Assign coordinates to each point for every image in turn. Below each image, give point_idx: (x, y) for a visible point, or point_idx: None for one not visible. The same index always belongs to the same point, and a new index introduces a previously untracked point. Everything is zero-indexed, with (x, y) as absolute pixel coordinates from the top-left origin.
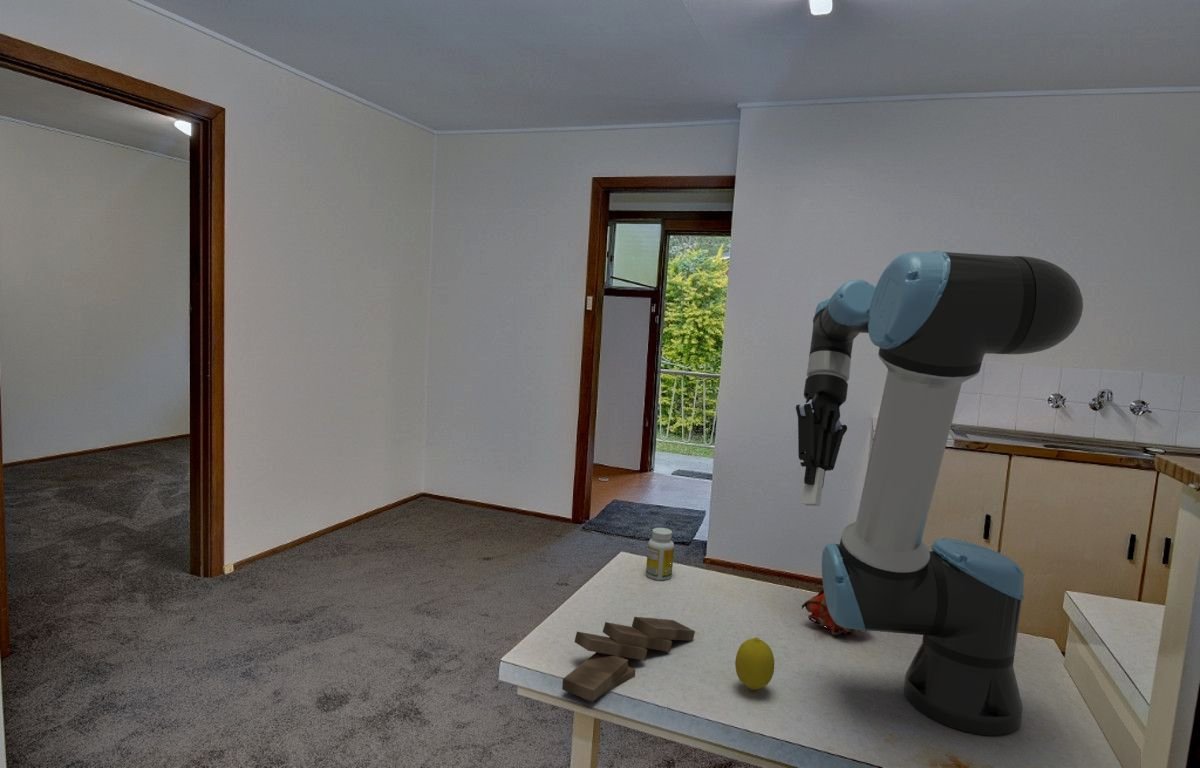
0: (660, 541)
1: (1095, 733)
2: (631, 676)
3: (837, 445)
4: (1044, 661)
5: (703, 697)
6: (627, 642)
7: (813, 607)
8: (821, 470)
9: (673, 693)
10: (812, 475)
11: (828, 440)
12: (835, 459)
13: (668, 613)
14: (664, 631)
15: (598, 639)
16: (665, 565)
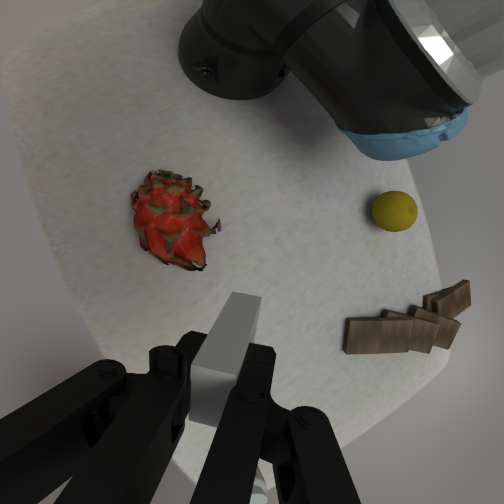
0: (260, 488)
1: None
2: (427, 295)
3: (4, 442)
4: (57, 32)
5: (411, 235)
6: (429, 320)
7: (203, 250)
8: (219, 364)
9: (421, 256)
10: (265, 366)
11: (99, 500)
12: (61, 389)
13: (314, 382)
14: (399, 319)
15: (450, 328)
16: None
